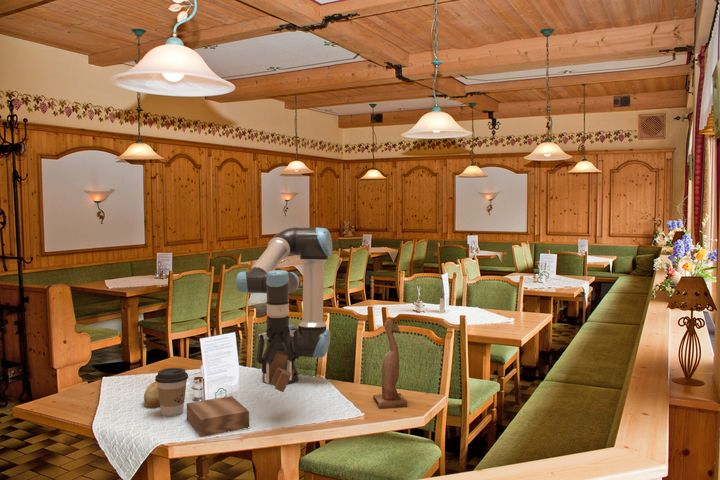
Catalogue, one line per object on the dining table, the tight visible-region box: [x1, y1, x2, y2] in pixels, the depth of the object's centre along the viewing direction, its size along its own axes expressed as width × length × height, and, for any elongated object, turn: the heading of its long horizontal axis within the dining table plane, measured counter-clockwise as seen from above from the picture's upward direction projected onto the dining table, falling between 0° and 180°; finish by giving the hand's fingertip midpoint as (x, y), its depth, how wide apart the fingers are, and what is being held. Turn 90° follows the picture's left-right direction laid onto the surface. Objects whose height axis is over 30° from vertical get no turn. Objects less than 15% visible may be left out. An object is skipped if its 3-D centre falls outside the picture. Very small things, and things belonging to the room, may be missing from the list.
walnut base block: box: [186, 395, 250, 438], centre depth 201 cm, size 16×18×6 cm
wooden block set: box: [269, 351, 295, 393], centre depth 205 cm, size 18×9×10 cm, turn 3°
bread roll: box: [143, 381, 160, 408], centre depth 222 cm, size 10×15×8 cm, turn 177°
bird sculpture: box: [372, 318, 408, 409], centre depth 222 cm, size 11×12×32 cm
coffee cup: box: [154, 367, 189, 417], centre depth 210 cm, size 11×11×15 cm
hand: (278, 380), depth 206 cm, fingers closed on wooden block set, 7 cm apart
